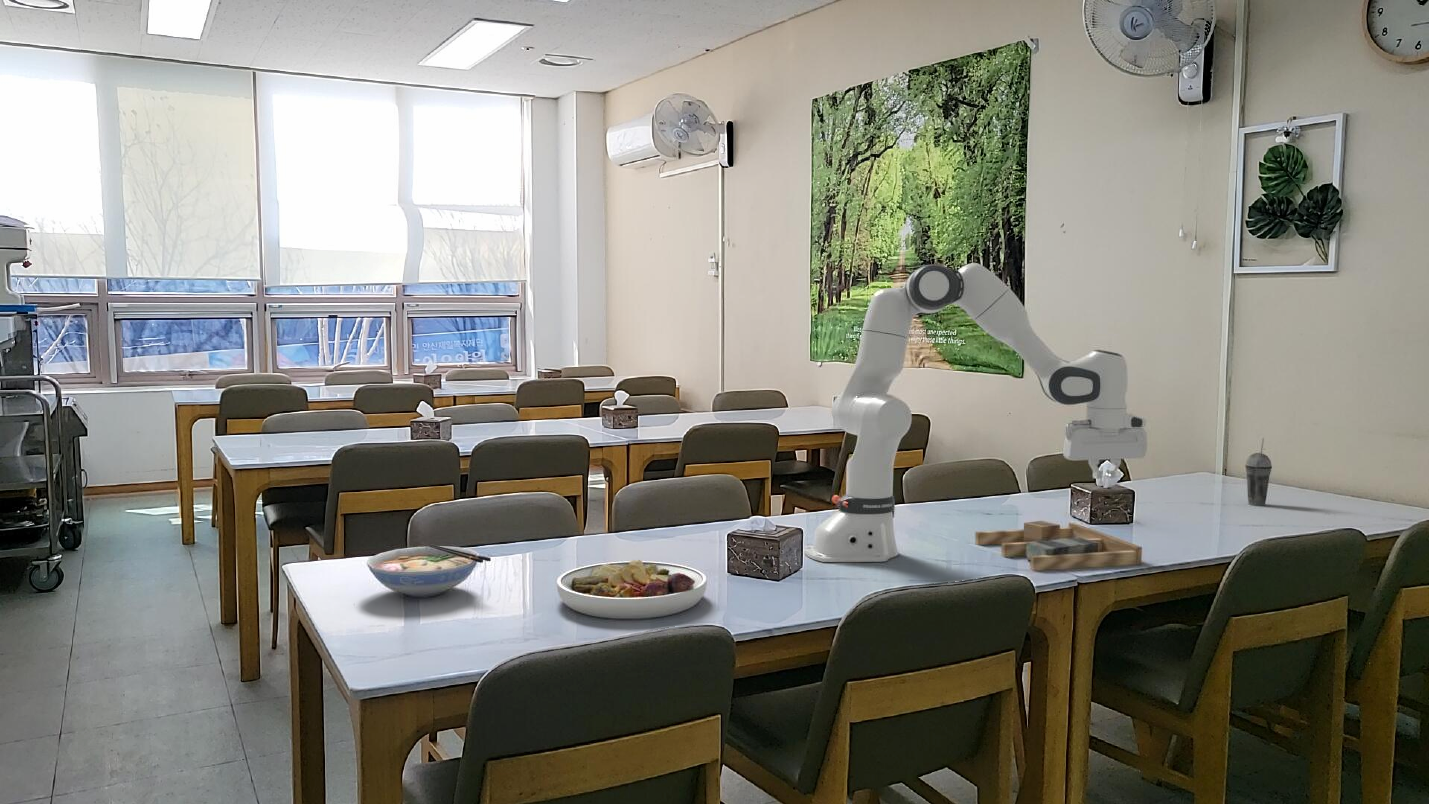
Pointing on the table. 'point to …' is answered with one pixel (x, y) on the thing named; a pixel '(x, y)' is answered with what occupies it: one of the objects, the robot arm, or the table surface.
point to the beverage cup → (1258, 477)
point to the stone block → (1061, 547)
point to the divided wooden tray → (1107, 555)
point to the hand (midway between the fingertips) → (1104, 478)
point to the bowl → (631, 589)
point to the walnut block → (1041, 531)
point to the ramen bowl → (424, 568)
